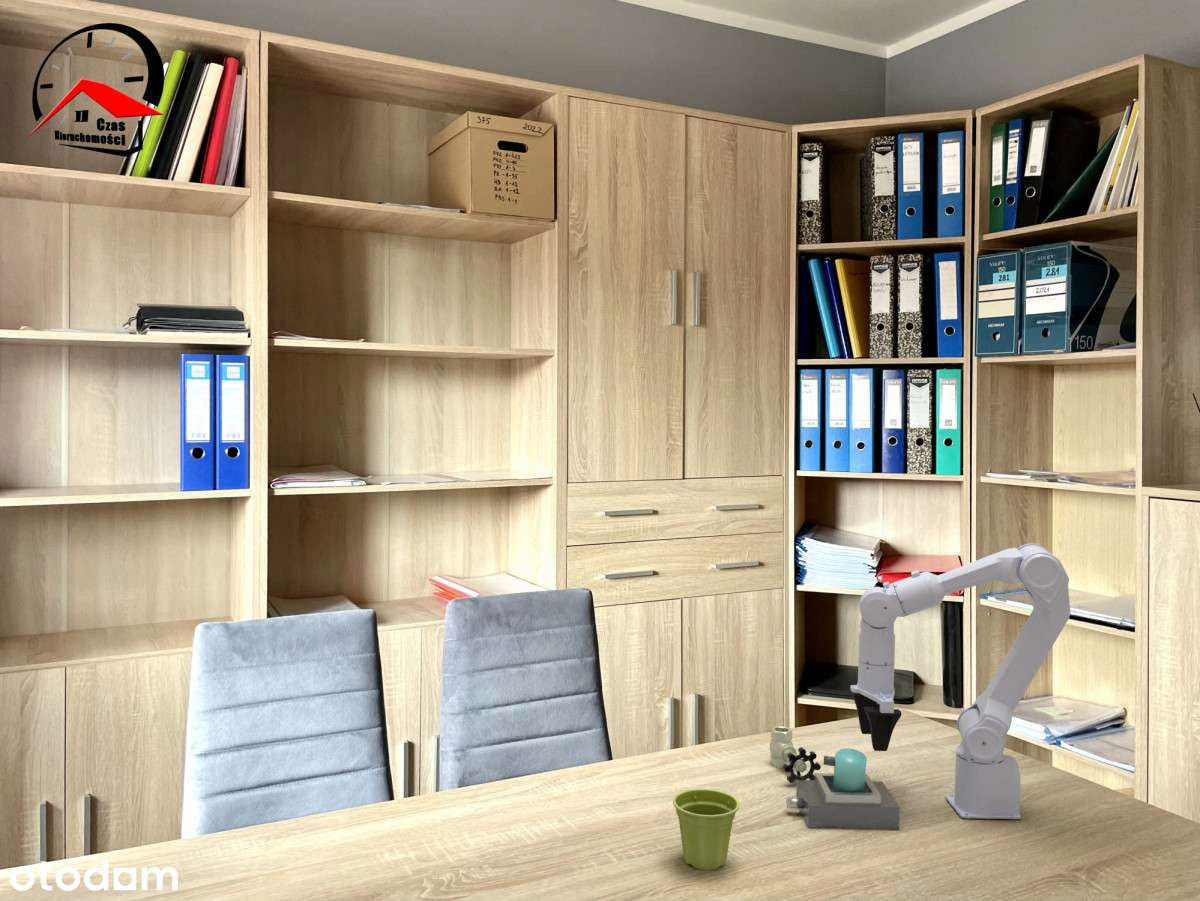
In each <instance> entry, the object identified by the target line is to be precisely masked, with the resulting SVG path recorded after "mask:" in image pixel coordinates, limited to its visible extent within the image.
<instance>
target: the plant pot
mask: <svg viewBox="0 0 1200 901" xmlns="http://www.w3.org/2000/svg"><path fill="white" fill-rule="evenodd" d="M672 805H673V806H674V808H675V811H676V815H677V817H678V823H679V830H680V832H679V833H680V837H681V839H680V840H681V846H682V847H681V848H682V855H683V856H682V857H683V861H684V862H685V863H686V864H687V865H688V864H689V865H691V866H692V867H693V868H695V869H697V870H707V871H708V870H716V869H718V868H720V866H725V865H726V863H727V858H728V852H729V846H730V841H731V840H730V839H731V834H732V828H733V821H734V820H735V817H736V813H737V811H739V808H740V802H739V800H738V798H736V797H735V796H734V795H732V794H729V793H727V792H725V791H720V790H717V789H708V788H694V789H687V790H684V791H680V792H678V793H677V794H675V796H674V797H673V799H672Z"/></svg>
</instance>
